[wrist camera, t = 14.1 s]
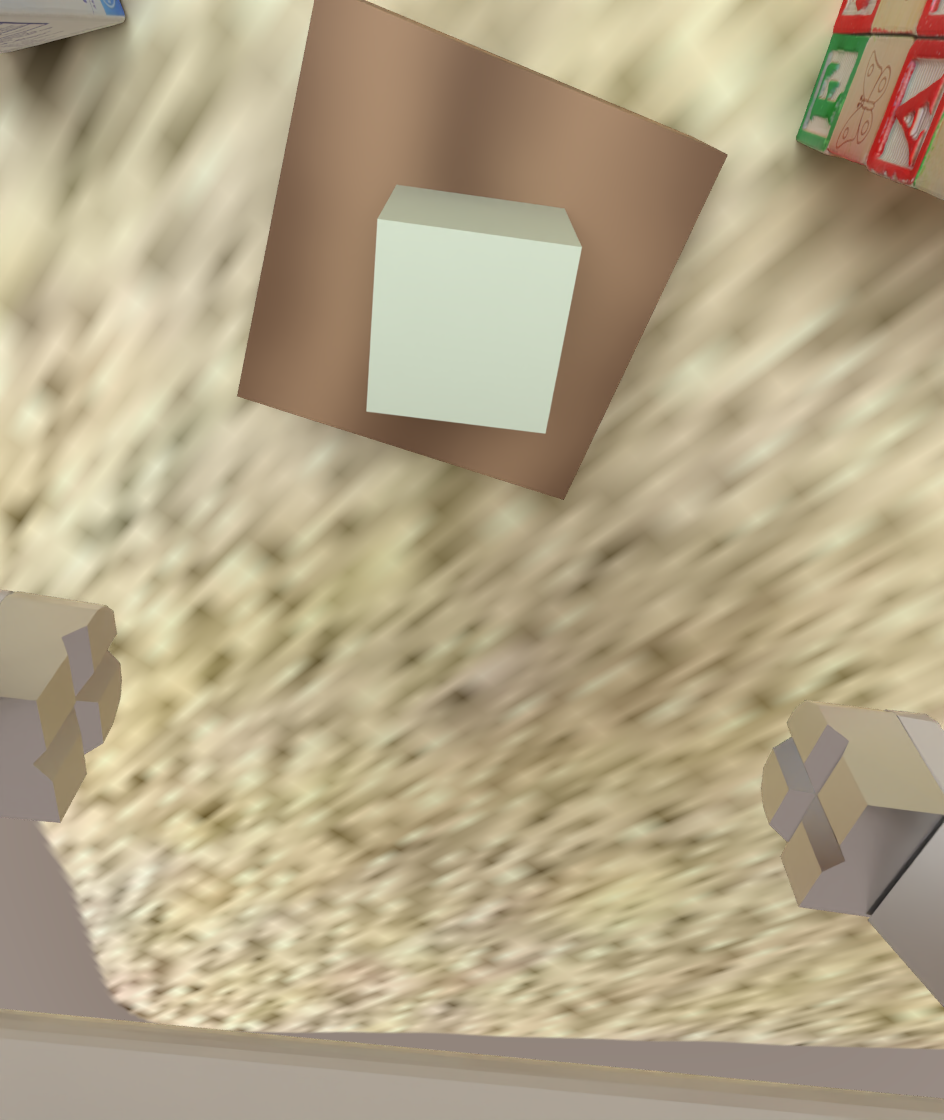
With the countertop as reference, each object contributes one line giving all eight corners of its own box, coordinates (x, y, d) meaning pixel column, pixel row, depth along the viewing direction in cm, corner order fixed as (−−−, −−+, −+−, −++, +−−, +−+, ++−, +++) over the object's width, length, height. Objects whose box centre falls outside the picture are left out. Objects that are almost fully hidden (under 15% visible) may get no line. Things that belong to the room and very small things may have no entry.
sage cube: (564, 208, 24) (582, 246, 19) (535, 369, 26) (545, 433, 22) (396, 184, 23) (377, 218, 19) (385, 350, 26) (366, 411, 22)
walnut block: (689, 135, 27) (727, 154, 23) (553, 440, 33) (563, 499, 29) (345, -9, 25) (317, -17, 21) (269, 347, 31) (237, 396, 27)
